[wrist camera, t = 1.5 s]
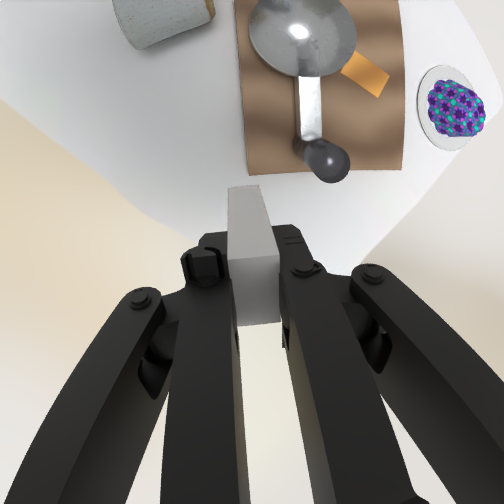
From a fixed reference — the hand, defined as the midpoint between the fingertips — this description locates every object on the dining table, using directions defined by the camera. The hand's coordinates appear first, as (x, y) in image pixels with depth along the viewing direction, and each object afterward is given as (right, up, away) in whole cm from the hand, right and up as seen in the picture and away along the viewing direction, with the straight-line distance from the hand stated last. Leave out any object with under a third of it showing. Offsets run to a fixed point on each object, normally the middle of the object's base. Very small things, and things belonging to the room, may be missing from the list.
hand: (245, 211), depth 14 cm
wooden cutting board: (+8, +17, +11) cm, 22 cm away
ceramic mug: (-9, +24, +6) cm, 26 cm away
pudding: (+26, +17, +13) cm, 34 cm away
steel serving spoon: (+5, +15, +9) cm, 18 cm away
